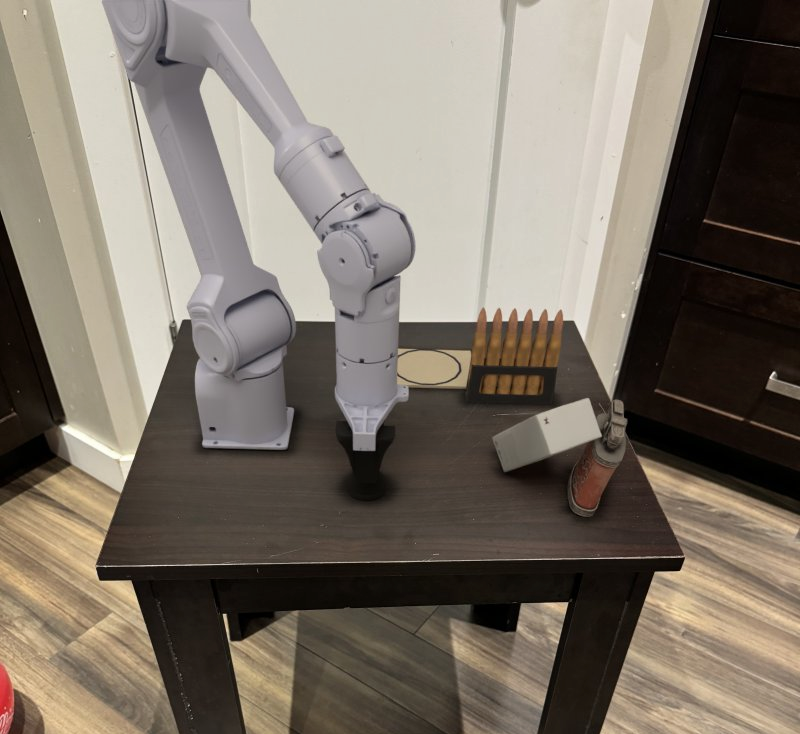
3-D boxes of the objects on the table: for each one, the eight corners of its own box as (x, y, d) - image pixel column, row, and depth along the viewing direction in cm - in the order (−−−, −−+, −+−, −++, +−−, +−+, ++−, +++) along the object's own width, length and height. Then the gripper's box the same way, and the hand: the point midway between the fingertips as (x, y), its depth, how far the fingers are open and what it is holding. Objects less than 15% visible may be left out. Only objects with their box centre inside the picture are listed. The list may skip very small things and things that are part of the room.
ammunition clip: (550, 395, 96) (567, 306, 88) (552, 404, 94) (570, 313, 86) (464, 394, 95) (474, 303, 87) (466, 402, 94) (475, 311, 86)
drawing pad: (379, 386, 96) (379, 383, 96) (380, 350, 103) (381, 347, 102) (475, 389, 96) (475, 386, 96) (470, 353, 103) (470, 350, 103)
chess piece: (338, 483, 82) (335, 403, 75) (373, 470, 84) (373, 391, 77) (359, 506, 79) (359, 425, 72) (395, 492, 81) (398, 412, 74)
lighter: (597, 520, 79) (637, 445, 72) (565, 511, 79) (602, 435, 72) (598, 472, 84) (635, 398, 77) (569, 463, 84) (603, 389, 77)
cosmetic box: (503, 474, 84) (549, 456, 72) (490, 437, 84) (534, 413, 72) (551, 457, 85) (604, 436, 74) (538, 420, 85) (589, 395, 74)
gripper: (411, 392, 65) (405, 512, 74) (409, 312, 75) (404, 426, 85) (328, 389, 65) (332, 511, 74) (338, 310, 75) (341, 424, 85)
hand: (366, 466), depth 79 cm, fingers open, 4 cm apart
